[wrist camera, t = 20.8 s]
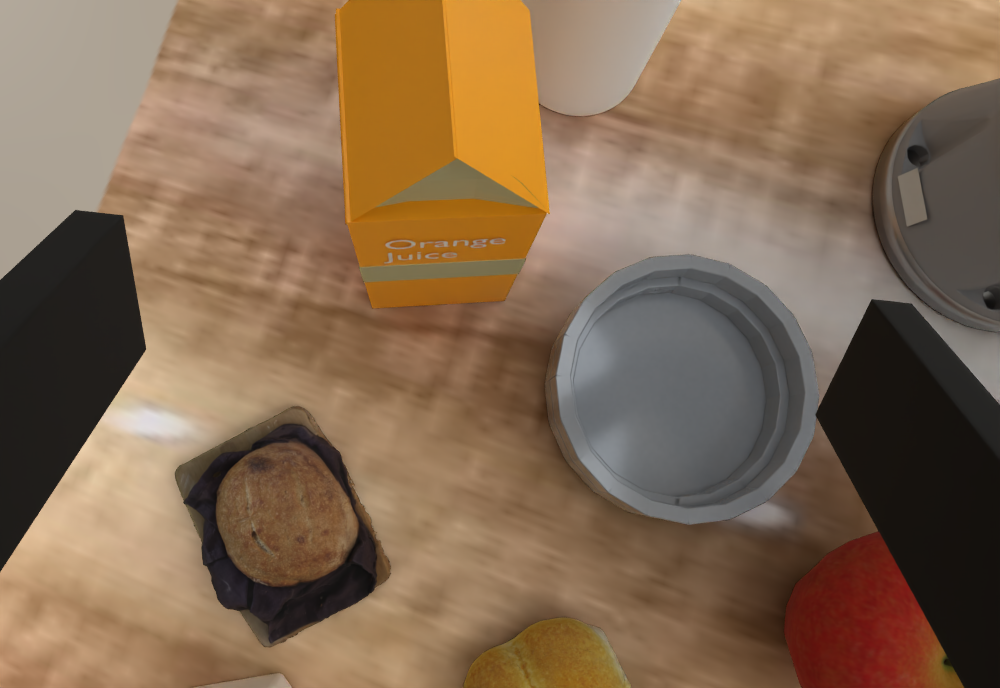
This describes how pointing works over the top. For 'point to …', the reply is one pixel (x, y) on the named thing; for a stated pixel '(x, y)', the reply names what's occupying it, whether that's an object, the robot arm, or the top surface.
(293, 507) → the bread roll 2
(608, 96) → the cup
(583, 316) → the pan
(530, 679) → the bread roll
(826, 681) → the apple
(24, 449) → the robot arm
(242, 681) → the jar
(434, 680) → the top surface
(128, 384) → the top surface
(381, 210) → the orange juice
